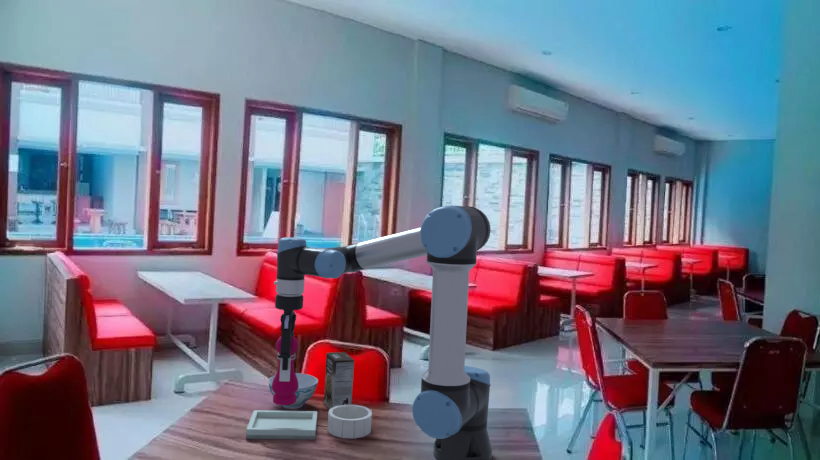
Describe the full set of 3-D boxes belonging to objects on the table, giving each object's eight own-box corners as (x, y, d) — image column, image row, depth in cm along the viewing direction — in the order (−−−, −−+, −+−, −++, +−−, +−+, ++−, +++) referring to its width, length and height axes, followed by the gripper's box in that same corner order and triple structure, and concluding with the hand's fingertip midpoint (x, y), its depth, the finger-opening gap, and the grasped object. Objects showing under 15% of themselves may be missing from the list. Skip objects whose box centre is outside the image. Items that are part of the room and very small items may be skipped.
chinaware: (297, 393, 197) (298, 370, 196) (326, 406, 186) (327, 382, 186) (257, 403, 186) (258, 378, 185) (286, 417, 175) (287, 391, 175)
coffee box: (323, 403, 189) (325, 352, 188) (342, 401, 192) (345, 351, 191) (331, 413, 181) (334, 360, 180) (352, 411, 184) (354, 359, 183)
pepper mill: (291, 407, 163) (295, 334, 161) (266, 404, 164) (269, 331, 163) (301, 398, 170) (305, 328, 168) (277, 395, 171) (280, 326, 170)
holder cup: (378, 428, 172) (379, 410, 172) (355, 441, 161) (356, 423, 161) (344, 418, 177) (344, 401, 177) (319, 431, 167) (320, 413, 167)
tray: (316, 419, 175) (317, 411, 175) (314, 439, 161) (315, 430, 161) (253, 418, 173) (253, 410, 173) (245, 438, 159) (246, 429, 159)
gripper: (279, 288, 174) (275, 367, 175) (271, 299, 155) (267, 388, 157) (305, 289, 175) (301, 367, 176) (301, 300, 156) (296, 388, 158)
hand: (285, 377), depth 166 cm, fingers closed on pepper mill, 6 cm apart
